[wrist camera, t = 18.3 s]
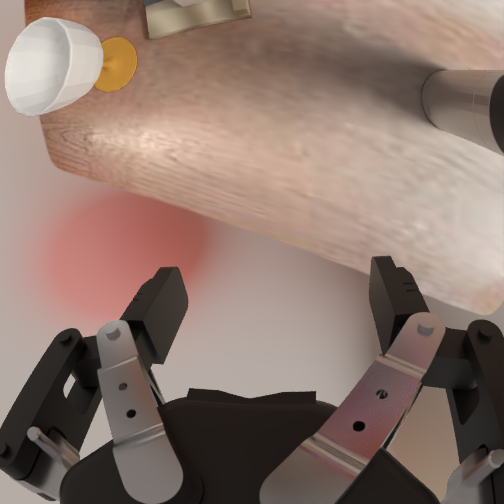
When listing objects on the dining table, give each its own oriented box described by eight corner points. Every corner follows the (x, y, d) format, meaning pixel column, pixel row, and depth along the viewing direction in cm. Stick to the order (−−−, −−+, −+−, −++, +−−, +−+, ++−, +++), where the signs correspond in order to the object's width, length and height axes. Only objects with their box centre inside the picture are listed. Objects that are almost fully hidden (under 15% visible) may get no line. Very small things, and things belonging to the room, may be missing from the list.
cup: (140, 18, 33) (67, -2, 18) (151, 88, 38) (79, 96, 23) (78, 45, 35) (0, 46, 20) (88, 109, 40) (11, 130, 26)
